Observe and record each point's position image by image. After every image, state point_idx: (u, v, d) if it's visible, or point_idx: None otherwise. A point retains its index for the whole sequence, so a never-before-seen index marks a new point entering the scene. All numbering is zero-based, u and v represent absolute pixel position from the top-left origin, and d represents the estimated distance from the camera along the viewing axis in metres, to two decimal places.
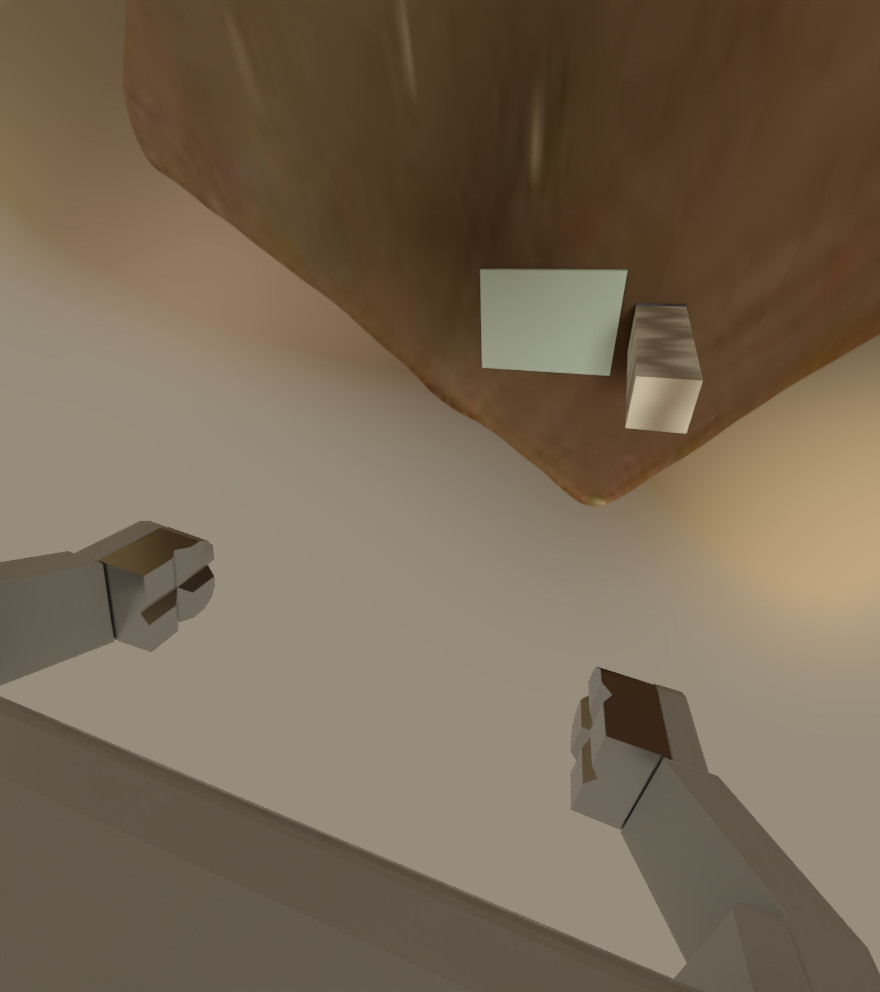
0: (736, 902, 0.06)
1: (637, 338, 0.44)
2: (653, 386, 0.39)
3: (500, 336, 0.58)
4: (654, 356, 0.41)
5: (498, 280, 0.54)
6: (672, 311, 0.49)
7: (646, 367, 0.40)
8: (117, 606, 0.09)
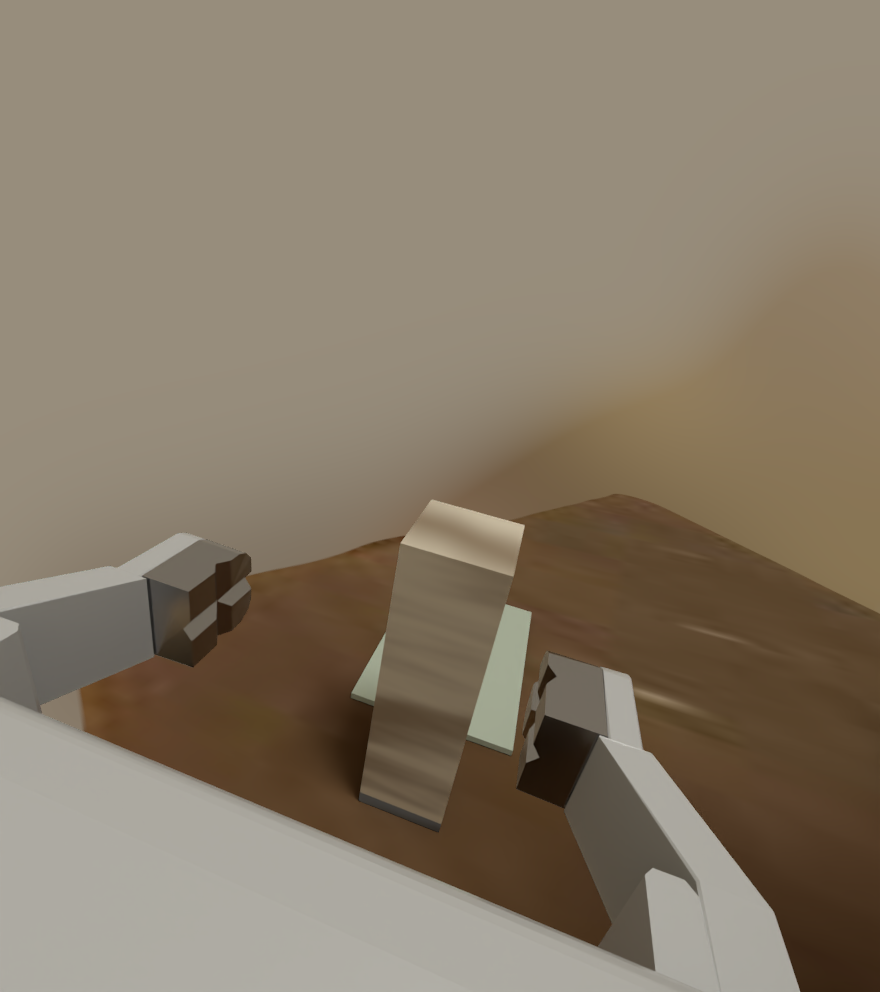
0: None
1: None
2: (505, 533, 0.23)
3: None
4: None
5: (518, 622, 0.44)
6: None
7: None
8: (159, 621, 0.08)
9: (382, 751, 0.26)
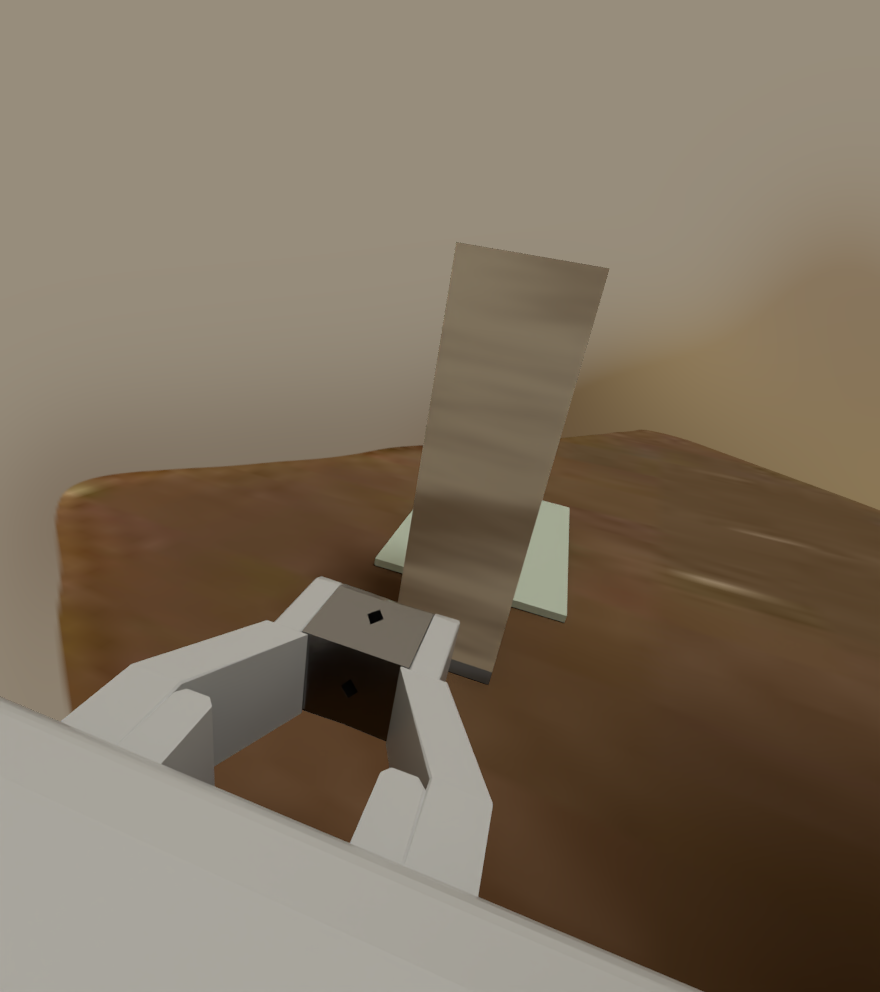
0: None
1: None
2: None
3: None
4: None
5: (555, 514, 0.40)
6: None
7: None
8: (313, 677, 0.08)
9: (422, 575, 0.21)
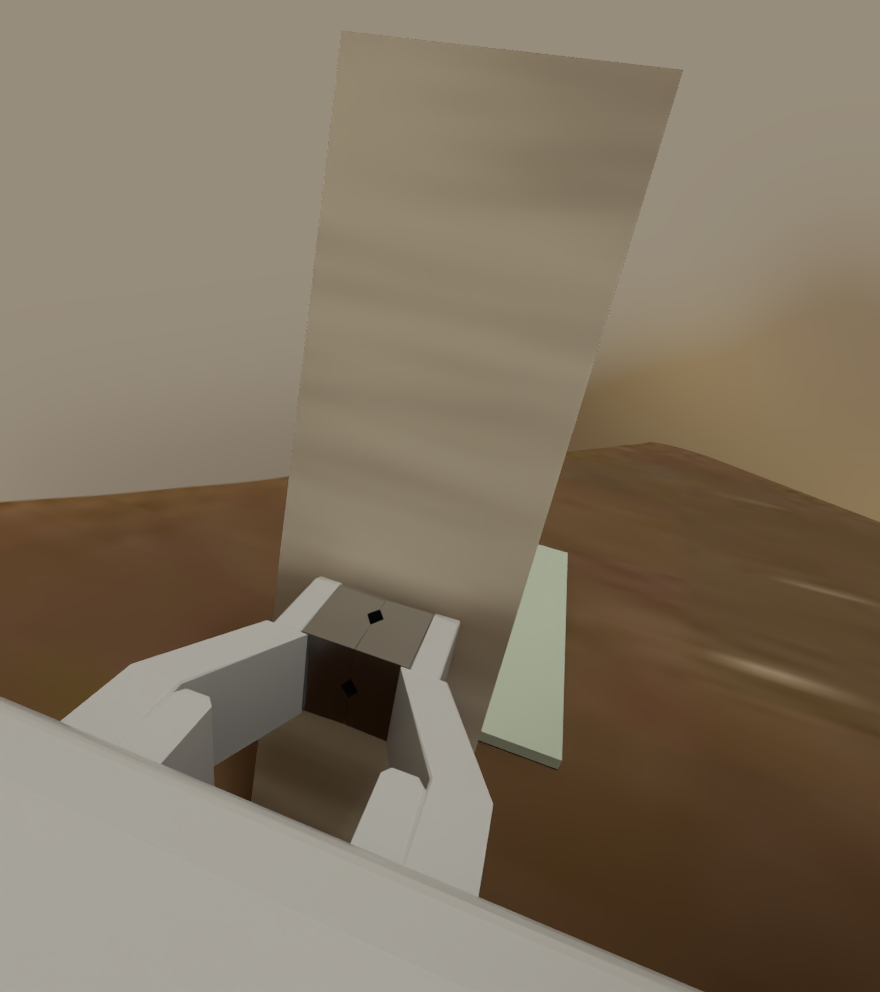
0: None
1: None
2: None
3: None
4: None
5: (549, 563, 0.30)
6: None
7: None
8: (313, 677, 0.08)
9: (295, 725, 0.11)
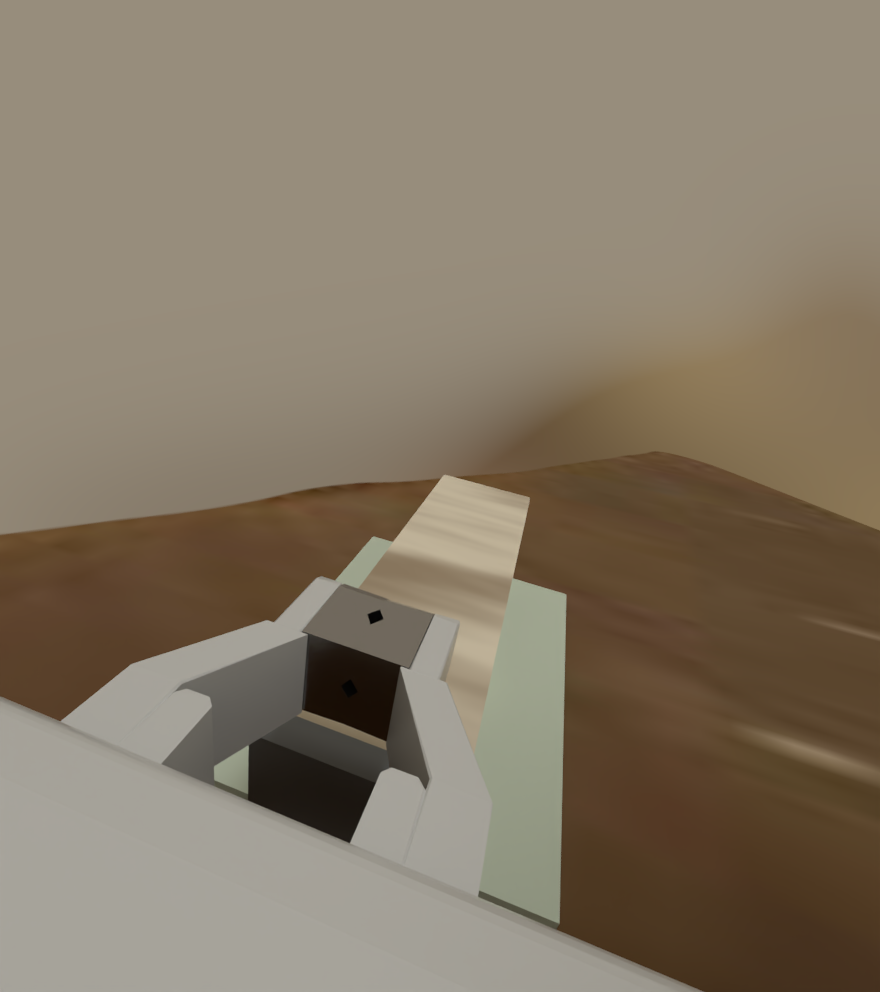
0: None
1: None
2: None
3: None
4: None
5: (545, 610, 0.25)
6: None
7: None
8: (313, 677, 0.08)
9: None
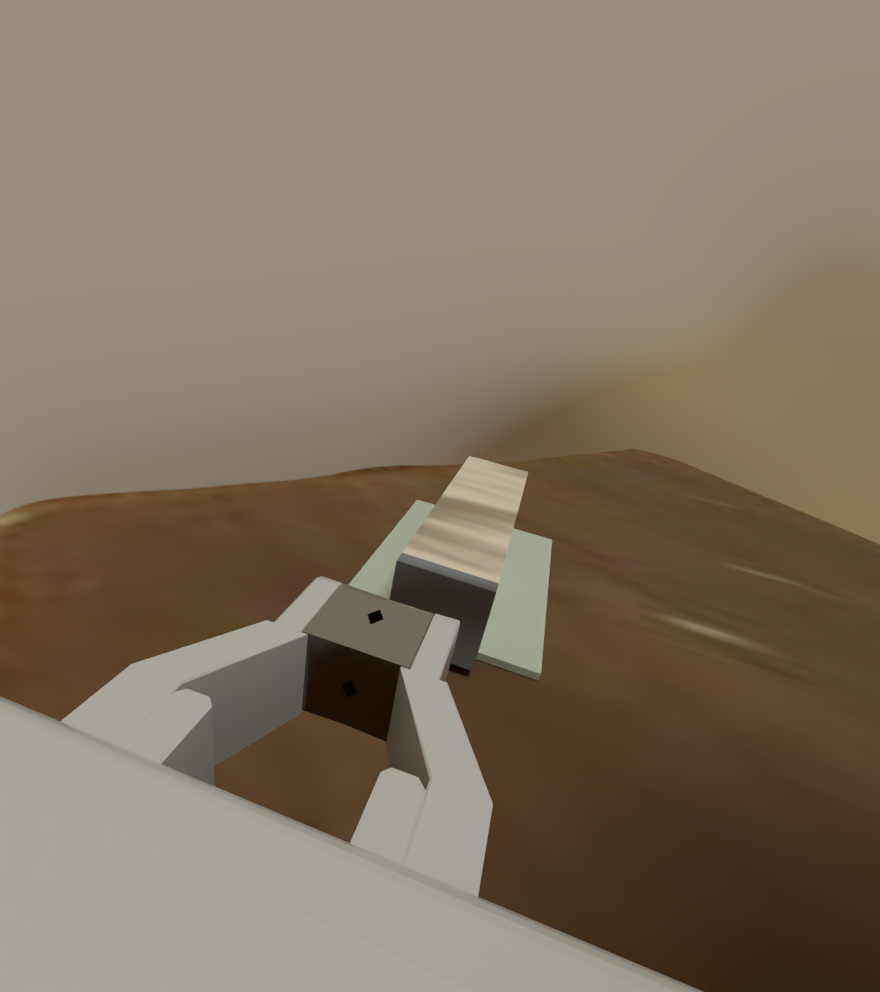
0: None
1: None
2: None
3: None
4: None
5: (537, 547, 0.37)
6: None
7: None
8: (313, 677, 0.08)
9: (439, 524, 0.27)
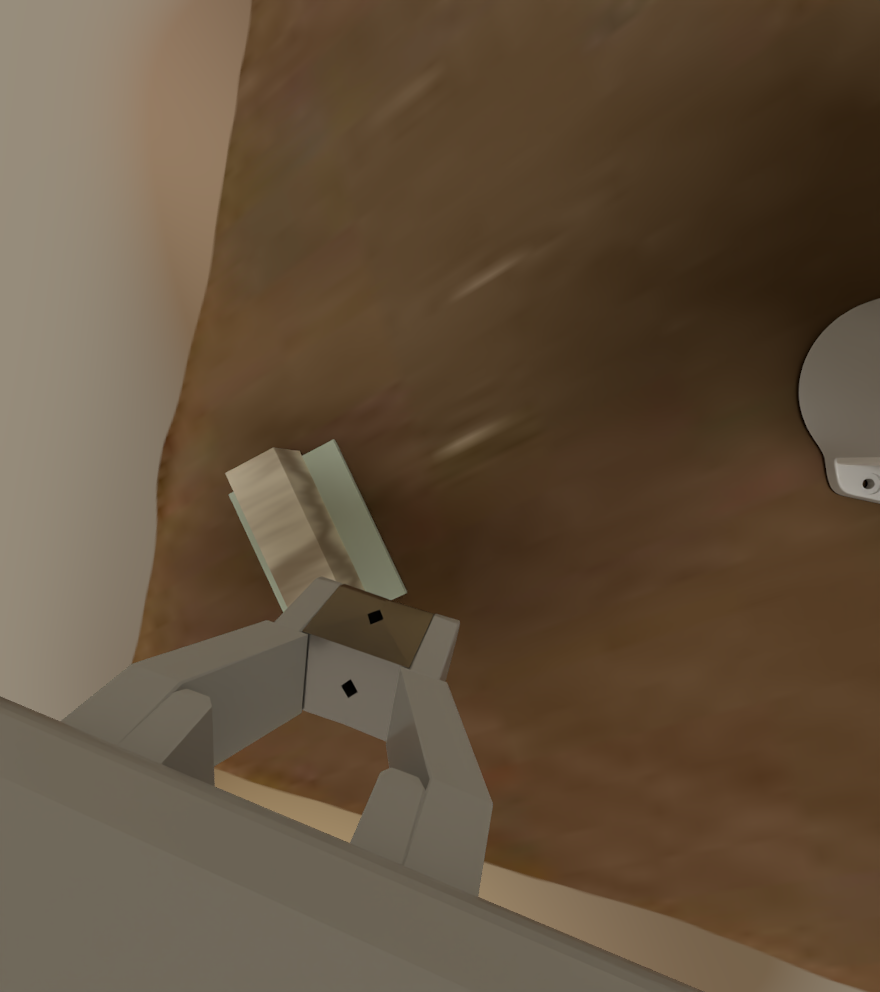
0: None
1: (334, 526, 0.44)
2: None
3: None
4: (311, 489, 0.43)
5: (332, 465, 0.44)
6: None
7: (303, 467, 0.44)
8: (313, 677, 0.08)
9: None
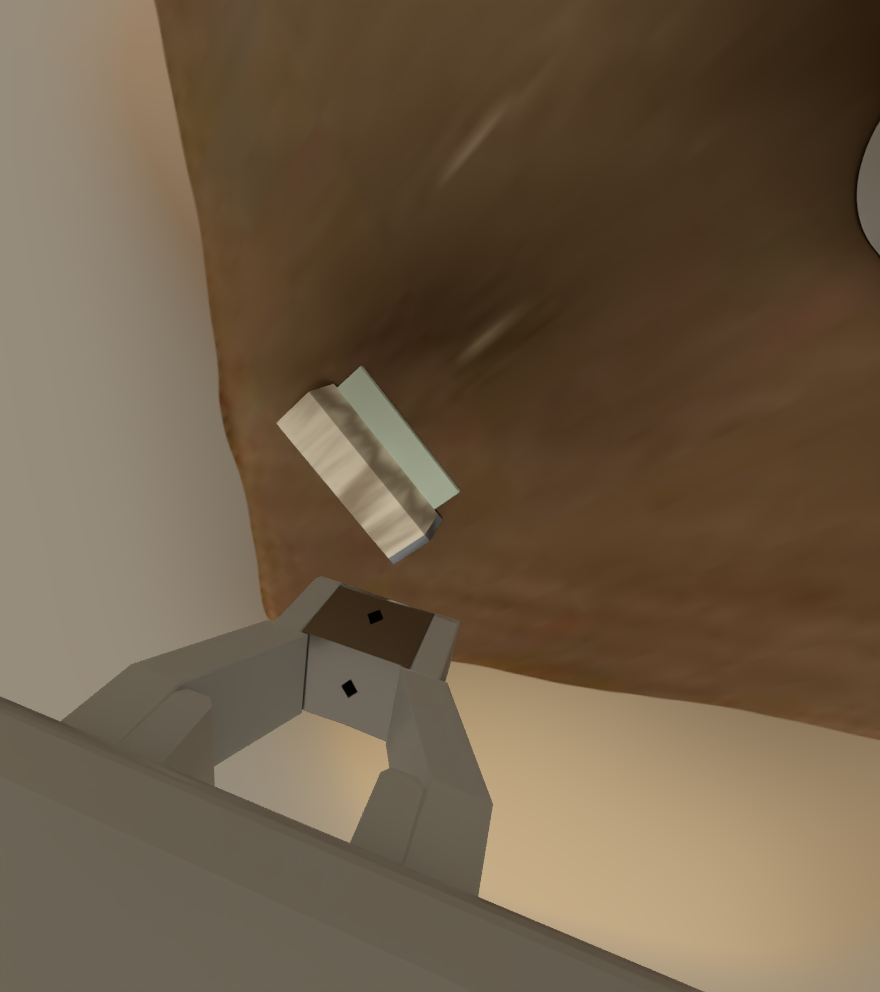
0: None
1: (383, 446, 0.48)
2: None
3: None
4: (353, 418, 0.47)
5: (366, 390, 0.47)
6: (419, 516, 0.46)
7: (341, 399, 0.47)
8: (313, 677, 0.08)
9: (369, 523, 0.46)
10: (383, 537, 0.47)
